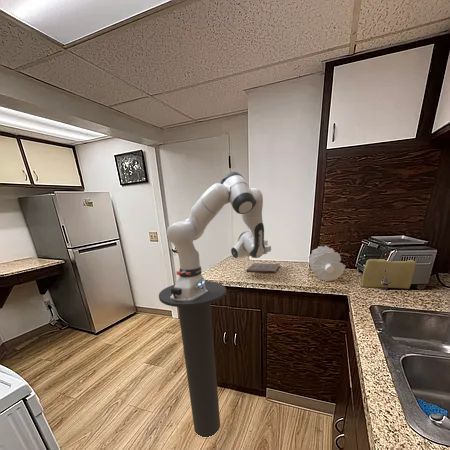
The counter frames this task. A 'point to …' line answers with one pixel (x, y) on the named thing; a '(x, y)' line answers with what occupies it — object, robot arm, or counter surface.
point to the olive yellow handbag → (388, 273)
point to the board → (263, 268)
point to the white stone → (265, 244)
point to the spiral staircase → (326, 263)
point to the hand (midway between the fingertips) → (264, 246)
